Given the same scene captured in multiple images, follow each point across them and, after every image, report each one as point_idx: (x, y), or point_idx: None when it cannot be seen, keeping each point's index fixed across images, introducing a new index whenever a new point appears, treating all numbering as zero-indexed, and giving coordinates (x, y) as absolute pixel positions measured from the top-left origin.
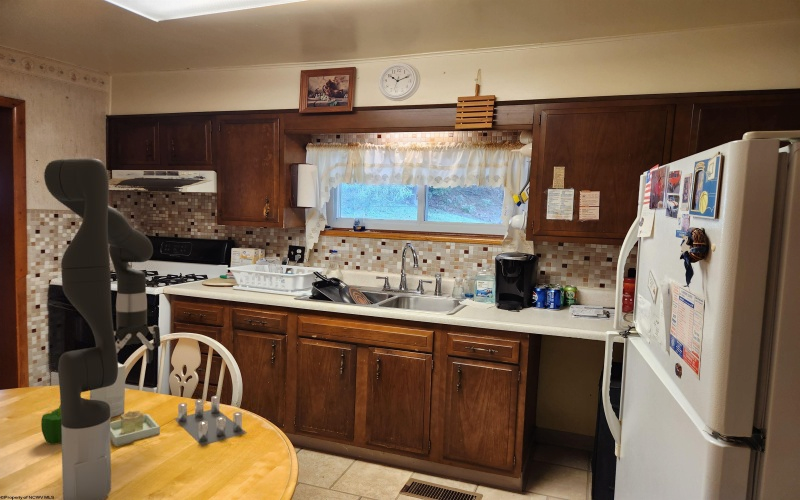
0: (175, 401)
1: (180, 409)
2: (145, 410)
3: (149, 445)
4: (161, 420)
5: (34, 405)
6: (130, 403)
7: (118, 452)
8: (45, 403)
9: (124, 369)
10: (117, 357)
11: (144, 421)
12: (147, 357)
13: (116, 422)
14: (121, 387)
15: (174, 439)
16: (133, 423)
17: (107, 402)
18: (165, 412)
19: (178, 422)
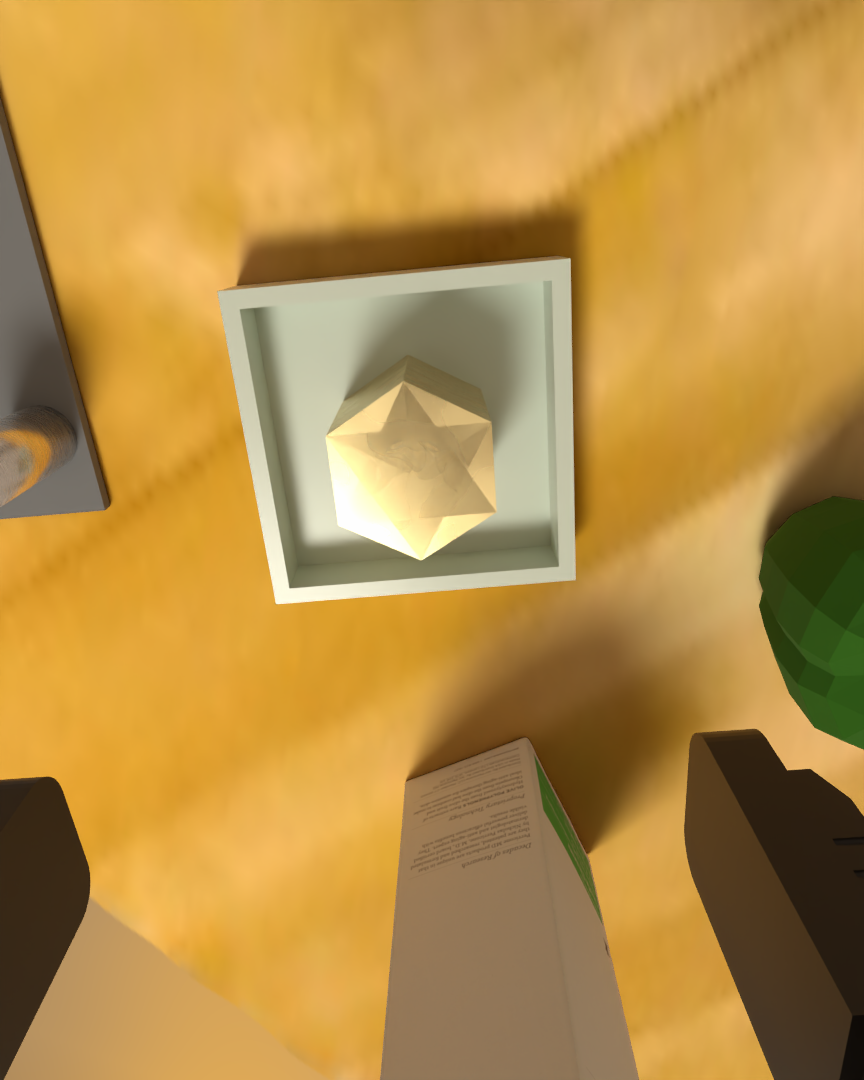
0: (77, 808)
1: (5, 444)
2: (277, 760)
3: (333, 123)
4: (195, 550)
5: None
6: (348, 898)
7: (561, 129)
8: (747, 1076)
9: None
10: (816, 945)
11: (309, 565)
12: (11, 919)
13: (501, 567)
14: (421, 932)
15: (135, 125)
16: (414, 377)
17: (526, 824)
18: (156, 668)
19: (76, 420)
